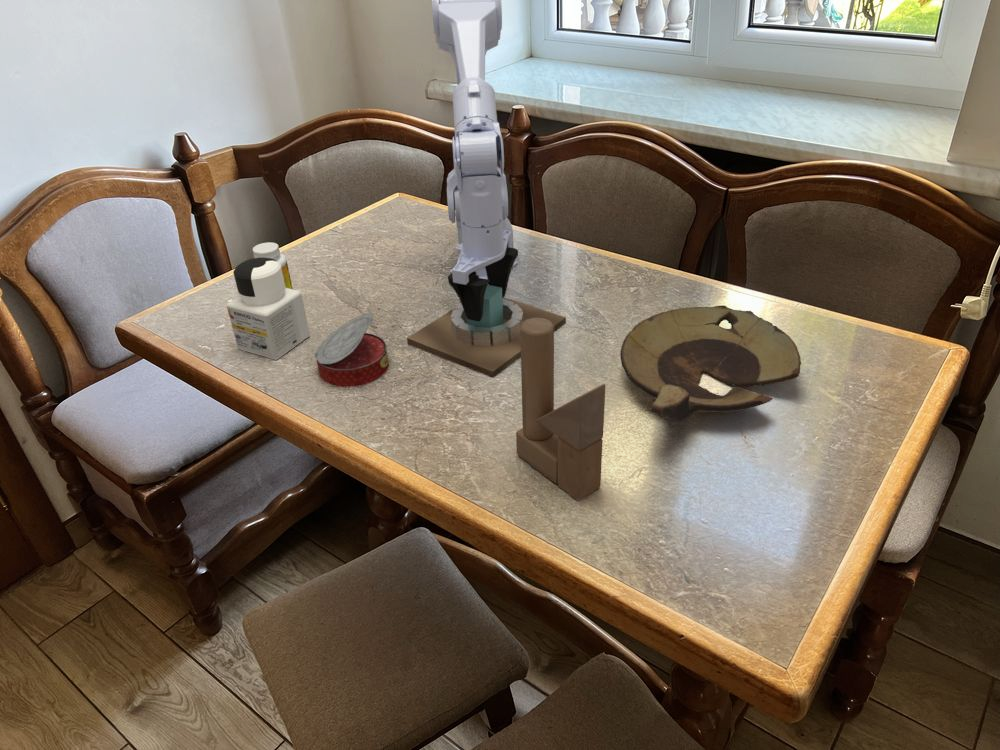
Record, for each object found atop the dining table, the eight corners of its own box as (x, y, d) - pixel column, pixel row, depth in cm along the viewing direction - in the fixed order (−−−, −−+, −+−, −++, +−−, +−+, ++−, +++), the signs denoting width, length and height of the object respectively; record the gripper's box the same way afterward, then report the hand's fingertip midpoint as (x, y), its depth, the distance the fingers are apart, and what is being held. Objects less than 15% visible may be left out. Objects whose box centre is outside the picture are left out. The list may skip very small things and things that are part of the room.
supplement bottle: (301, 305, 125) (289, 247, 120) (270, 317, 122) (256, 258, 117) (286, 294, 129) (273, 237, 123) (255, 305, 126) (241, 247, 120)
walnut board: (483, 295, 126) (483, 290, 125) (565, 323, 117) (565, 317, 117) (407, 343, 114) (406, 337, 113) (493, 377, 106) (492, 371, 105)
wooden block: (578, 502, 85) (581, 365, 75) (515, 455, 92) (511, 323, 82) (602, 487, 86) (608, 351, 76) (539, 442, 94) (537, 312, 84)
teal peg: (479, 318, 117) (477, 282, 114) (503, 323, 116) (501, 287, 113) (467, 330, 114) (464, 294, 111) (491, 335, 113) (489, 299, 110)
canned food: (366, 414, 108) (336, 379, 99) (316, 384, 112) (284, 349, 104) (414, 352, 111) (389, 313, 103) (364, 326, 116) (336, 287, 107)
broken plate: (831, 381, 102) (843, 331, 98) (680, 480, 87) (687, 426, 83) (698, 319, 117) (703, 273, 113) (549, 394, 102) (549, 345, 98)
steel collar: (481, 304, 121) (481, 291, 120) (536, 322, 116) (536, 309, 114) (437, 332, 114) (436, 319, 113) (493, 353, 109) (493, 340, 108)
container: (236, 349, 114) (215, 270, 107) (272, 325, 120) (254, 248, 113) (276, 361, 111) (257, 280, 104) (311, 336, 117) (295, 257, 110)
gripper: (480, 197, 112) (484, 281, 120) (429, 235, 102) (437, 324, 109) (524, 204, 110) (526, 289, 117) (476, 243, 99) (482, 334, 107)
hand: (486, 307), depth 113 cm, fingers open, 7 cm apart
